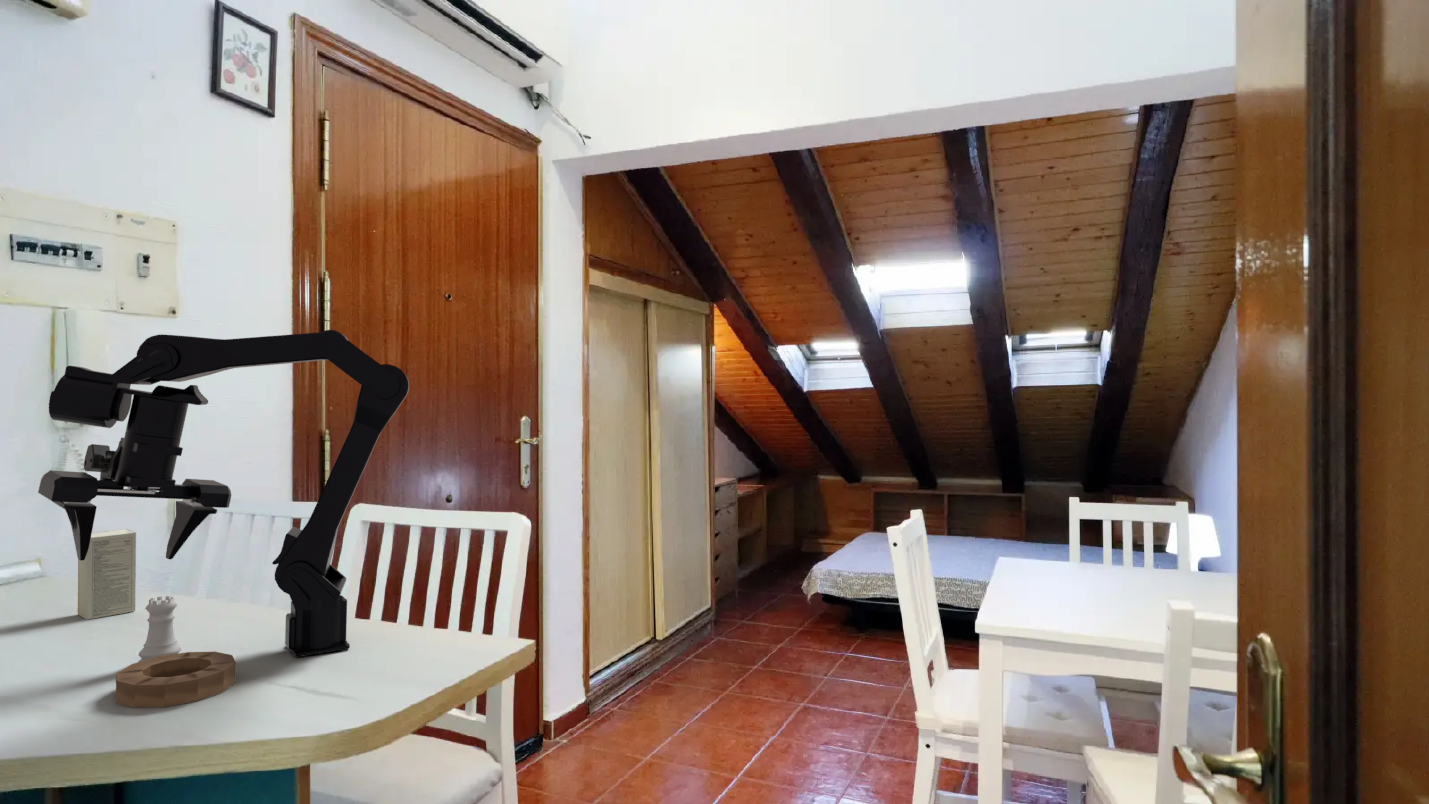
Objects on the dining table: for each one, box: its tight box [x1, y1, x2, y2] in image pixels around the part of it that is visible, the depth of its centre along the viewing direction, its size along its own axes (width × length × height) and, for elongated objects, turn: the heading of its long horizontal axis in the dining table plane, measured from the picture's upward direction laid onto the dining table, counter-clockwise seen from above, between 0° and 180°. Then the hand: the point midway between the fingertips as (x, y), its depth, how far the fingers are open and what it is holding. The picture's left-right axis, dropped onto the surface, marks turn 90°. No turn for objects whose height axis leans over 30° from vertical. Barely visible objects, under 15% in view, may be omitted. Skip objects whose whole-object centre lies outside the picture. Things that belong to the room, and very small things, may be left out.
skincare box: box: [77, 528, 137, 620], centre depth 117 cm, size 6×4×12 cm
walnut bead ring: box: [115, 651, 237, 709], centre depth 89 cm, size 11×11×2 cm
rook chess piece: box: [137, 595, 182, 662], centre depth 97 cm, size 4×4×8 cm
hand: (126, 559), depth 97 cm, fingers open, 9 cm apart
